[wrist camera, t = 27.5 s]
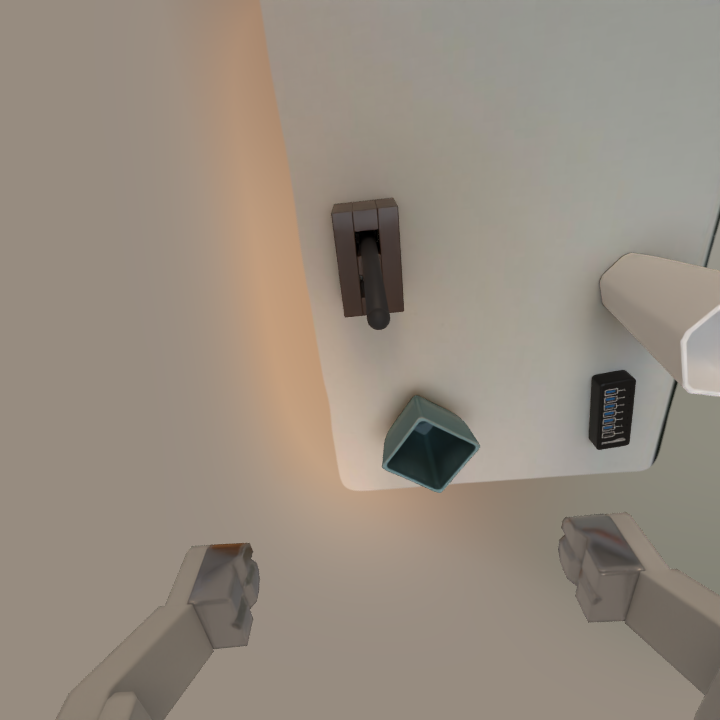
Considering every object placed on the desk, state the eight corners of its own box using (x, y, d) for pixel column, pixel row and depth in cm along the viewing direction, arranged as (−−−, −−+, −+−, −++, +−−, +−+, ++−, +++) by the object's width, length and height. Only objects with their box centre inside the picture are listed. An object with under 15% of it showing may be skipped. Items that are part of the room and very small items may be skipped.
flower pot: (410, 376, 56) (420, 416, 48) (465, 404, 58) (482, 446, 51) (376, 424, 60) (380, 468, 52) (429, 448, 62) (440, 494, 54)
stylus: (356, 231, 48) (362, 326, 29) (365, 219, 47) (377, 309, 28) (367, 239, 48) (381, 337, 30) (376, 227, 47) (395, 321, 29)
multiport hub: (626, 369, 56) (636, 378, 54) (620, 435, 61) (629, 445, 59) (592, 375, 57) (600, 384, 55) (588, 440, 62) (596, 450, 60)
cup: (569, 316, 53) (655, 389, 37) (602, 232, 48) (716, 277, 33) (654, 327, 53) (772, 403, 38) (695, 246, 49) (848, 296, 34)
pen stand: (345, 298, 51) (344, 317, 46) (333, 204, 46) (331, 213, 41) (399, 293, 51) (404, 311, 46) (393, 197, 46) (398, 205, 41)
